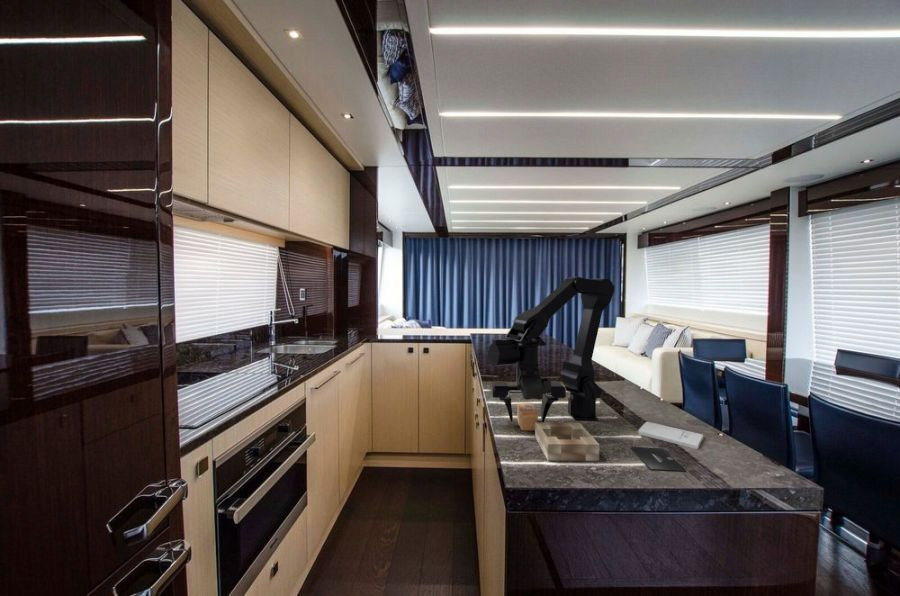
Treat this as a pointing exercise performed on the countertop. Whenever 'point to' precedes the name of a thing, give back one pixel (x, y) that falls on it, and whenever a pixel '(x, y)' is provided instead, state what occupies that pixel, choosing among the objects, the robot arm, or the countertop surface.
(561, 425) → the beige notched square frame
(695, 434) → the external hard drive
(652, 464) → the solid state drive
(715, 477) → the countertop surface
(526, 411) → the block
